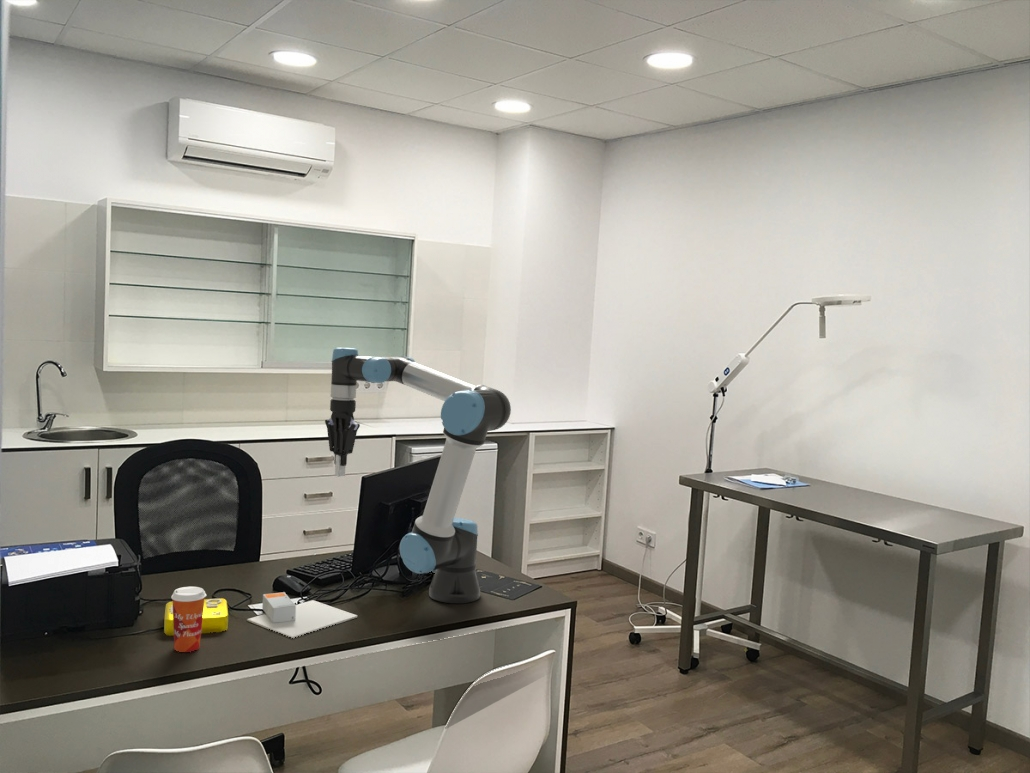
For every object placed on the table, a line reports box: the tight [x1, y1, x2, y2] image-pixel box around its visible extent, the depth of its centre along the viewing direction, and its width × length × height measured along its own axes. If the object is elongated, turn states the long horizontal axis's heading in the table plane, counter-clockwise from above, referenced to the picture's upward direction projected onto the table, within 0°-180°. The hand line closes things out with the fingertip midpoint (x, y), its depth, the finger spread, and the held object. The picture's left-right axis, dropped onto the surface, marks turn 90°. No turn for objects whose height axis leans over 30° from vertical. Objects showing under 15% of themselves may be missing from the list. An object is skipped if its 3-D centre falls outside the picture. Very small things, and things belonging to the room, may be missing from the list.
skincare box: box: [261, 591, 297, 623], centre depth 226 cm, size 6×4×12 cm
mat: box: [246, 599, 358, 639], centre depth 226 cm, size 18×22×1 cm
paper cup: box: [170, 586, 207, 653], centre depth 201 cm, size 8×8×14 cm
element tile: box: [163, 597, 229, 636], centre depth 218 cm, size 15×15×5 cm
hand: (339, 475), depth 258 cm, fingers closed
